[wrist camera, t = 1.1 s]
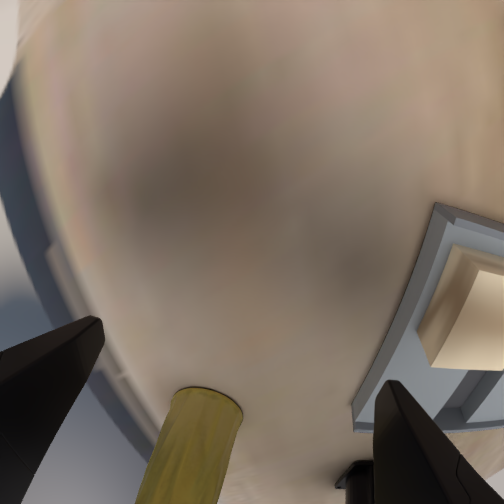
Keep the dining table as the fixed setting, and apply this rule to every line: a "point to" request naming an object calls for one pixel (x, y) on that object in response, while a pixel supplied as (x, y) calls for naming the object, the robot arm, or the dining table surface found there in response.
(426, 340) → the beech block
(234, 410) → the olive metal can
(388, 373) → the box
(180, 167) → the dining table surface
